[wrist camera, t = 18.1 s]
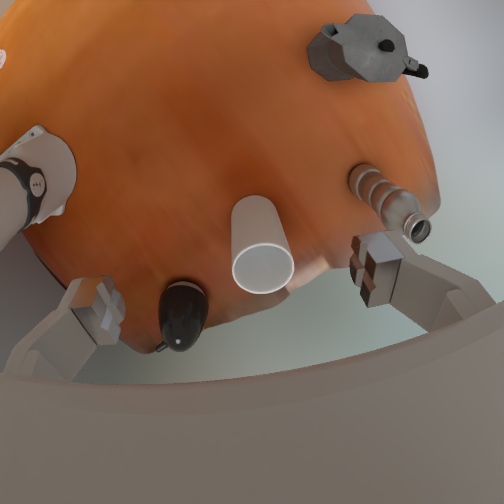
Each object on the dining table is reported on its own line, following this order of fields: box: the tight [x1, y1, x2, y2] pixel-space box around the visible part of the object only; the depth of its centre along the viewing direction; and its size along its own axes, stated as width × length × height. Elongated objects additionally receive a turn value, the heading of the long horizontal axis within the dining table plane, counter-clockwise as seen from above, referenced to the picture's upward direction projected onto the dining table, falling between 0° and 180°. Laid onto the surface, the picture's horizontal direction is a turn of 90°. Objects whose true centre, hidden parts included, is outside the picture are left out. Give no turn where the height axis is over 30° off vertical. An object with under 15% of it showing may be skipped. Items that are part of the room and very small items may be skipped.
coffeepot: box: [307, 14, 429, 82], centre depth 28 cm, size 15×9×18 cm, turn 80°
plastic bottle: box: [349, 164, 432, 244], centre depth 39 cm, size 6×7×20 cm
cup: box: [231, 195, 294, 294], centre depth 44 cm, size 8×8×16 cm
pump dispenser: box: [155, 281, 209, 352], centre depth 53 cm, size 10×10×15 cm
